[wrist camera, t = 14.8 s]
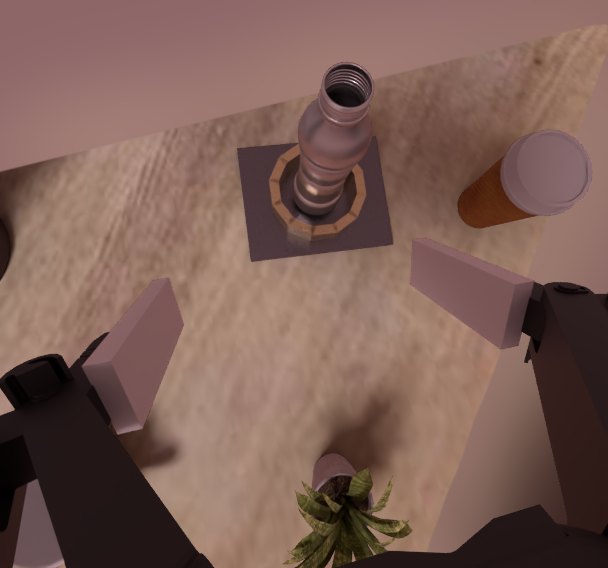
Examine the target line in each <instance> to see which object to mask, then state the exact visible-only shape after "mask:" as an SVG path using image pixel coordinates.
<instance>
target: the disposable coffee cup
mask: <svg viewBox="0 0 608 568" xmlns="http://www.w3.org/2000/svg"><path fill="white" fill-rule="evenodd" d="M591 180H592V165H591V161H590V158H589V156H588V154H587V152H586V150H585V149H584V147H583V146H582V144H580V143H579V142H578V141H577V140H576V139H575V138H574V137H572V136H571V135H569V134H567V133H564V132H562V131H558V130H543V131H540V132H537V133H531V134H528V135H525V136H523V137H521V138H519V139H518V140H517V141H515V142H514V143H513V144H512V145H511V147H510V148H509V149H508V151H507V153H506V154H505V156H503V157H502V158H501V159H500V160H499V161H498V162H497V163H496V164H495V165H493V166H492V167H491V168H490V169H489V170H488V171H487V172H486V173H484V174H483V175H482V176H481V177H480V178H479V179H478V180H477V181H476V182H474V183H473V184H472V185H471V186H470V187H469V188H468V189H467V190H465V191H464V192H463V193H462V195H461V196H460V198H459V201H458V212H459V214H460V216H461V218H462V220H463V221H464V222H465V223H466V224H468V225H469V226H471V227H474V228H485V227H489V226H494V225H498V224H503V223H507V222H511V221H516V220H520V219H525V218H529V217H534V216H538V215H542V216H551V215H556V214H560V213H563V212H565V211H566V210H568V209H570V208H571V207H572V206H573V205H574V204H575V203H576V202H578V201H579V200H580V199H581V198H582V197H583V196H584V195H585V194H586V192H587V191H588V189H589V186H590V183H591Z"/></svg>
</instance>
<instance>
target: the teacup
mask: <svg viewBox="0 0 608 568" xmlns="http://www.w3.org/2000/svg"><path fill="white" fill-rule="evenodd" d="M63 563H64V560H63V557H62V553H61V550H60V547H59V544H58V541H57V538H56V535H55V532H54V529H53V526H52V522H51V519H50V516H49V513H48V510H47V507H46V504H45V501H44V498H43V495H42V492H41V488H40V485H39V482H38V479H36V480H34V481H32V482H30V483H28V484H27V490H26V495H25V501H24V507H23V513H22V518H21V524H20V530H19V535H18V541H17V547H16V552H15V558H14V564H13V568H55V567H58V566H59V565H61V564H63Z"/></svg>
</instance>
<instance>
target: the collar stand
mask: <svg viewBox="0 0 608 568" xmlns="http://www.w3.org/2000/svg"><path fill="white" fill-rule="evenodd" d="M237 151H238V159H239V167H240V176H241V184H242V192H243V200H244V208H245V216H246V224H247V233H248V241H249V249H250V257H251V262H254V261H262V260H271V259H279V258H287V257H295V256H304V255H312V254H320V253H328V252H337V251H345V250H353V249H362V248H370V247H378V246H386V245H392V244H393V241H392V235H391V228H390V222H389V216H388V210H387V203H386V197H385V191H384V185H383V178H382V172H381V166H380V160H379V154H378V147H377V141H376V136H375V137H371V143H370V146H369V148H368V150H367V152H366V153H365V155H364V156H363V157H362V159H361V160H360V161H359V162H358V163H357V164H356V165H355V166H354V168H353V169H352V170H351V171H350V173H349V174H348V176H347V177H346V179H345V182H344V186H343V193H342V197H341V200H340V201H339V203H338V204H337V206H336V207H334V208H333V209H332V210H331V211H329V212H327V213H325V214H322V215H312V214H308V213H306V212H304V211H302V210H301V209H300V208H299V207H298V206H297V204H296V203H295V201H294V198H293V195H292V183H293V180H294V177H295V175H296V173H297V172H298V170H299V166H300V148H299V143H294V144H283V145H271V146H260V147H248V148H237Z"/></svg>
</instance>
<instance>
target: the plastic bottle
mask: <svg viewBox="0 0 608 568" xmlns="http://www.w3.org/2000/svg"><path fill="white" fill-rule="evenodd" d="M373 92H374V83H373V80H372V77H371V75H370V74H369V73H368V72H367V70H365V69H364V68H363V67H362V66H360V65H358V64H355V63H351V62H341V63H337V64H335V65H333V66H332V67H330V68H329V69H328V70H327V72H326V73H325V75H324V77H323V80H322V85H321V89H320V92H319V95H318V98H317V99H316V100H314V101H313V102H311V104H310V105H309V106H308V107H307V108H306V110H305V112H304V113H303V115H302V117H301V119H300V122H299V127H298V140H299V148H300V166H299V170H298V172H297V173H296V175H295V177H294V180H293V183H292V195H293V198H294V201H295V203H296V204H297V206H298V207H299V208H300V209H301V210H302V211H304V212H306V213H308V214H312V215H322V214H325V213H327V212H329V211H331V210H332V209H333V208H334V207H336V206H337V204H338V203H339V201H340V200H341V197H342V193H343V186H344V182H345V179H346V177H347V176H348V174H349V173H350V171H351V170H352V169H353V168H354V166H355V165H356V164H357V163H358V162H359V161H360V160H361V159H362V157H363V156H364V155H365V153H366V152H367V150H368V148H369V146H370V143H371V137H372V123H371V119H370V116H369V114H368V110H369V107H370V102H371V99H372V96H373Z"/></svg>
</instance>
